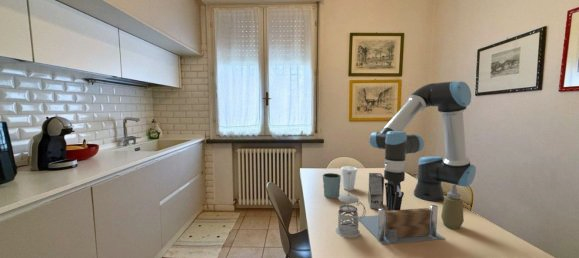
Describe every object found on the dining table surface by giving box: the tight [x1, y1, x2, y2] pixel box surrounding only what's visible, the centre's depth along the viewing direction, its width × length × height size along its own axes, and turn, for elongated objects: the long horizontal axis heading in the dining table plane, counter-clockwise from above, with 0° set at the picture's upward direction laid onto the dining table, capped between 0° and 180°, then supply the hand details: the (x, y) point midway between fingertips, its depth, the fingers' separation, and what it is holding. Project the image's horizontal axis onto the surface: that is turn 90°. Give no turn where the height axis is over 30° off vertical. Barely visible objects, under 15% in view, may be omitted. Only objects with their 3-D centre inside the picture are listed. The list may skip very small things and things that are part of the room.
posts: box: [376, 204, 439, 243], centre depth 94 cm, size 24×4×12 cm, turn 99°
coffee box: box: [368, 172, 385, 210], centre depth 127 cm, size 9×6×16 cm
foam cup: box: [340, 165, 358, 191], centre depth 154 cm, size 10×9×13 cm
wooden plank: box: [385, 207, 431, 239], centre depth 95 cm, size 18×2×10 cm, turn 99°
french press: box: [335, 171, 367, 239], centre depth 99 cm, size 10×12×25 cm
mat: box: [358, 214, 446, 245], centre depth 104 cm, size 26×23×1 cm
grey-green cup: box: [322, 172, 342, 199], centre depth 141 cm, size 10×10×12 cm
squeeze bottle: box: [440, 184, 465, 230], centre depth 104 cm, size 8×8×18 cm
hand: (392, 227), depth 99 cm, fingers closed
